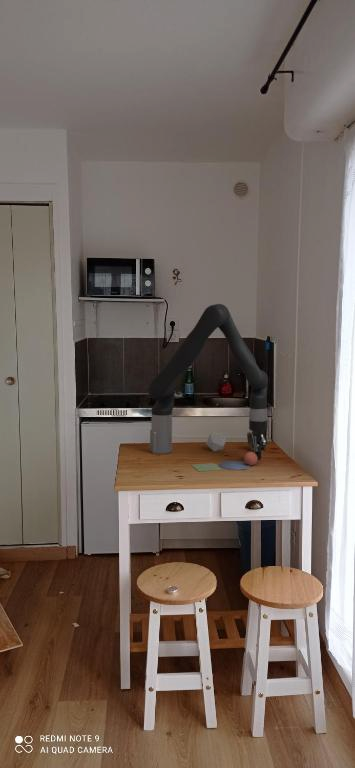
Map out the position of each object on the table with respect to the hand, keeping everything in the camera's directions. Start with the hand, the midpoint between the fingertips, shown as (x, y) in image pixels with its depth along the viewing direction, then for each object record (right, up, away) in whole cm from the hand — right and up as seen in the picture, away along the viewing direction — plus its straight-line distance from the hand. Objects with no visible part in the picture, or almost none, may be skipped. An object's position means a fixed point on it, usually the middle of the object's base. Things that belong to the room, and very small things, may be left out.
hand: (258, 459), depth 242 cm
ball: (-3, +1, -2) cm, 4 cm away
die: (-16, +1, +23) cm, 28 cm away
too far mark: (-22, -2, -7) cm, 23 cm away
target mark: (-10, -2, -3) cm, 11 cm away
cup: (+2, +1, +23) cm, 23 cm away
